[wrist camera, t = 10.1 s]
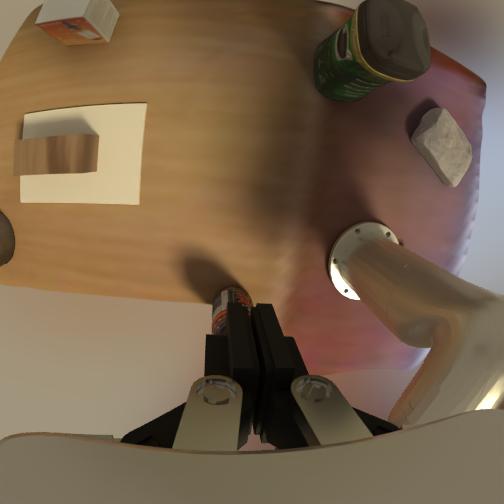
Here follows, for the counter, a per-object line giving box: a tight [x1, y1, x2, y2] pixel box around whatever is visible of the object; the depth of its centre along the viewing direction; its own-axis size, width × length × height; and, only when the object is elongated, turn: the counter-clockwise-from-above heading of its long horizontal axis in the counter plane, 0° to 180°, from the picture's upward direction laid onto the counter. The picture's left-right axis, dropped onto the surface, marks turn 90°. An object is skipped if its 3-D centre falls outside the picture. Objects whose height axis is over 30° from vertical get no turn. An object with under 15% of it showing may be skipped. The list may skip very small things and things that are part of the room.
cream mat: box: [20, 103, 147, 205], centre depth 36 cm, size 21×14×1 cm, turn 84°
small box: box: [35, 0, 119, 46], centre depth 25 cm, size 8×6×10 cm
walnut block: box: [13, 134, 99, 176], centre depth 33 cm, size 5×5×12 cm
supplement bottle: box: [212, 287, 253, 335], centre depth 40 cm, size 6×6×11 cm
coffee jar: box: [314, 0, 431, 102], centre depth 28 cm, size 10×8×19 cm
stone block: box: [411, 108, 472, 187], centre depth 40 cm, size 12×5×10 cm
